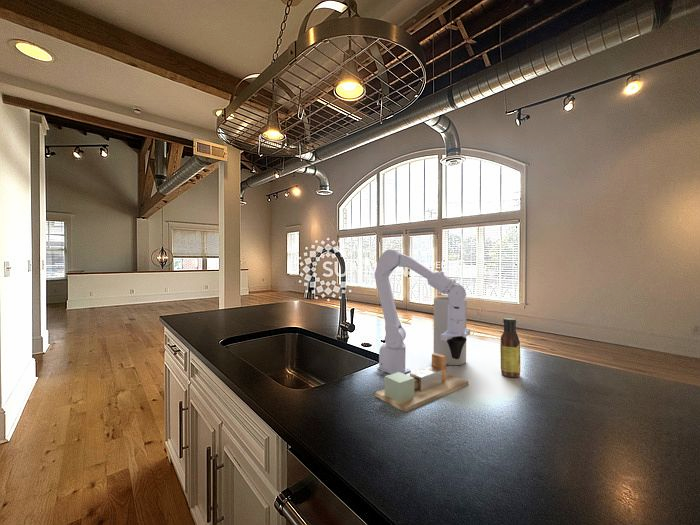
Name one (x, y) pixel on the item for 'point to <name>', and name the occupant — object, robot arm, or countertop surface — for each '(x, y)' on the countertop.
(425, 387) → the metal sleeve
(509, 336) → the sauce bottle
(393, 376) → the pale green block
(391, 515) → the countertop surface
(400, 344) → the robot arm
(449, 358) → the cylinder vase
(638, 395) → the countertop surface
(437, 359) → the brown piece
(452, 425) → the countertop surface
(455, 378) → the base board
